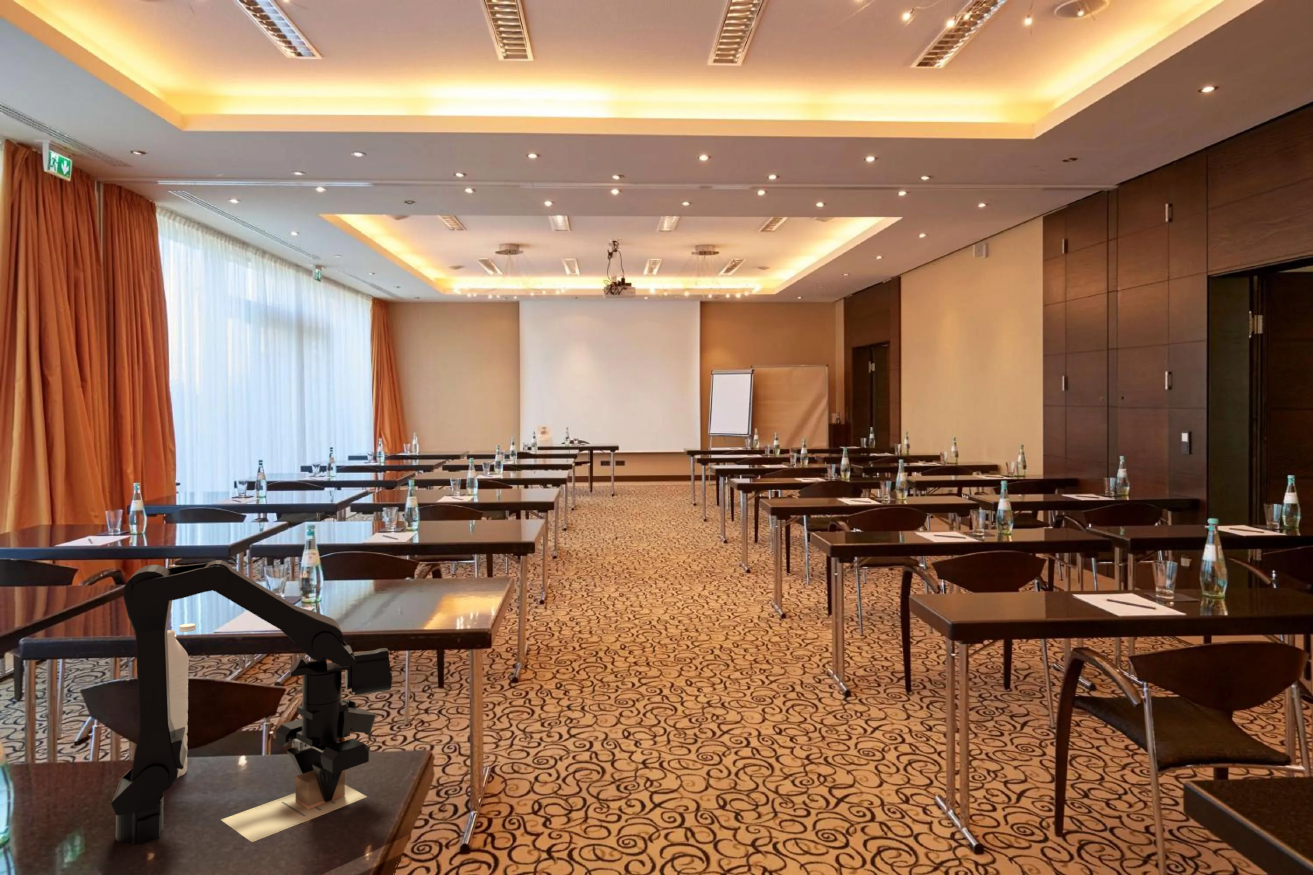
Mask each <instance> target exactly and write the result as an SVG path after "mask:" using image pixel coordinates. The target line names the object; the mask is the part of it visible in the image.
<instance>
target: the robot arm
mask: <svg viewBox="0 0 1313 875" xmlns="http://www.w3.org/2000/svg"><path fill="white" fill-rule="evenodd" d="M212 591H213V592H215V593H217V594H219V595H220V596H222V597H224V598H225V599H228V601H231V602H233V603H234V604H236V605H238V606H239V607H241V608H243V609H245V610H247V611H248V612H250V613H252V614H253V615H255V616H256V617H259V618H260V619H261V620H264V621H265V622H267V623H268V624H270V625H272V626H273V627H275V628H277V629H279V630H280V631H281V632H282V633H283V634H284V635H285V636H286V637H288V639H290V640H291V641H292V643H293V644H294V645H295V646H297V647H298V648H299V649H300V650H301V651H303V653H305V654H306V655H307V656H308V657H309V658H310V659H311V660H307V659H305V657H303V656H299V657H298V659H297V660H296V662H295V663H293V664H292V665H291V666H289V673H290V676H291V677H292V678H293V677H300V676H302V699H301V700H302V703H301V705H299V706H296V714H298V715H300V716H301V718H298V719H296V720H291V721H287V722H284V723H281V724H280V725H279V727H278V728H277V729H276V730H275V744H277V745H279V746H281V747H283V748H284V747H286V746H288V744H290V741H291V748H289V749H288V748H287V750H286V753H287V754H288V756H290V758H291V760H292V762H293V763H294V765H295V768H296V769H297V770H298V772H299V775H301V774H304V773H307V772H310V771H312V770H314V772H315V775H316V778H317V782H318V785H319V788H320V791H321V794H322V797H323V799H324V801H325V802H329V801H331V800H332V798H333V796H334V793H335V790H336V787H337V784H338V781H339V778H340V776H341V773H342V771H344V770H345V771H347V770H350V769H351V768H352V769H353V768H354V767H357V766H361V765H363V764H366V763H369V762H370V760H371V747H370V746H369V745H367V744H366V743H365V742H362V741H361V740H357V739H356V738H354V737H352V738H349V739H346V740H344V741H339V739H341V738H342V739H345V738H348V737H350V736H351V733H359V734H364V735H371V733H372V729H373V728H374V723H375V721H376V717H377V714H376V713H373V712H371V711H369V710H366V709H363V708H360V707H357V705H356V701H355V700H354V701H353V700H351V699H345V698H343V699H342V687H343V685H342V684H343V683H342V681H343V680H342V678H343V675H342V672H343V671H344V680H345V681H344V684H345V690H346V691H348V690H349V691H350V692H351V694H352V695H353V696H359V695H360V696H361V695H368V694H373V693H380V692H388V691H391V690H392V686H393V685H392V682H393V673H392V670H391V662H390V651H389V649H388V648H387V647H382V648H377V649H374V650H367V651H359V652H356V651H355V652H353V650H352V647H351V646H350V645H348V644H347V643H346V641H345V640H344V634H343V632H342V629H341V627H340V624H339V623H338V622H337V621H336V619H333V618H332V617H329V616H327V615H325V614H322V613H319V612H316V611H313V610H310V609H306V608H302V607H299V606H297V605H294V603H292V602H290V601H288V600H286V599H285V598H283V597H281V596H279V595H278V594H276V593H275V592H273V591H271V590H270V589H268V588H267V587H266V586H263V585H262V584H260V583H258V582H257V581H255V580H254V579H252V578H250V577H249V576H246V575H245V574H243V573H241V572H240V571H239V570H237V569H235V568H233V567H232V566H231V565H230V564H229V563H228V562H227V561H225V560H222V559H221V560H220V559H215V560H211V561H210V562H204V563H195V564H187V565H177V566H171V567H166V566H163V565H160V564H149V565H144V566H142V567H141V568H139V569H138V570H136V571H135V572H134V573H133V574H132V575H131V576H130V578H129V579H128V580H127V581H126V583H125V584H124V587H123V590H122V597H123V602H124V606H125V609H126V613H127V617H128V620H129V622H130V624H131V626H132V630H133V632H134V634H135V635H134V636H135V652H136V653H135V654H136V679H137V701H138V702H137V703H138V705H137V706H138V728H139V730H138V736H137V741H136V744H135V745H136V746H135V751H134V755H133V762H132V767H131V768H130V769H129V770H128V771H126V773H124V774H123V776H122V777H121V778H120V780H119V783H118V785H117V787H116V791H115V793H114V796H113V798H112V801H111V807H112V810H113V812H114V813H115V840H116V842H118V843H121V844H133V845H137V846H140V845H143V844H146V843H149V842H152V841H156V840H157V839H159V838H161V832H162V831H163V829H164V793H165V792H167V791H168V790H170V788H171V787H173V785H174V784H175V783H176V781H177V779H178V778H177V776H178V771H179V769H183V767H184V762H185V758H186V753H187V754H188V749H187V750H186V748H185V747H184V734H185V727H183V728H180V729H176V730H175V728H174V726H173V723H172V721H171V714H170V688H169V662H168V636H167V630H168V625H169V621H170V615H171V608H172V603H173V601H175V600H181V599H184V598H188V597H191V596H194V595H199V594H202V593H207V592H212ZM327 661H331V662H327Z"/></svg>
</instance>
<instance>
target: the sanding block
mask: <svg viewBox="0 0 1313 875" xmlns="http://www.w3.org/2000/svg"><path fill="white" fill-rule="evenodd" d="M345 785H346V770H344V771H342V773H341V776H340V778H339V781H338V784H337V787H336V790H335V793H334V796H333V798H332V800H334V799H337V798H339V797H342V796H345ZM295 793H296V802H297V803H299V804H300V805H302V806H304V807H305V808H307V809H311V808H314V807H316V806H319V805H321V804H324V803H326V802H325V801H324V799H323V797H322V794H321V791H320V788H319V785H318V782H317V778H316V775H315V772H314V770H312V771H310V772H307V773H304V774H298V775H296V776H295ZM332 800H331V801H332Z"/></svg>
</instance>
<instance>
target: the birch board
mask: <svg viewBox="0 0 1313 875" xmlns="http://www.w3.org/2000/svg"><path fill="white" fill-rule="evenodd" d="M366 798H368V796H367V795H365V794H363V793H361V792H359V791H357V790H356V789H354V788H352V787H350V786H349V785H346V784H345V796H342V797H339V798H337V799H334V800H332V801H329V802H326V803H324V804H321V805H319V806H316V807H314V808H311V809H307V808H305V807H304V806H302V805H300V804H299V803H297V802H296V792H294V793H291V794H289V795H285V796H284V797H280V798H278V799H275V800H271V801H269V802H266V803H263V804H261V805H258V806H255V807H253V808H249V809H247V810H244V811H241V812H238V813H236V814H233V815H231V816H227V817H225V818H221V819H220V820H221V822H223V823H224V824H226V825H227V826H229V828H231V829H232V830H234V831H235V832H237V834H239V835H241V836H242V837H244V838H245V839H246V840H248V841H249V842H250V843H255V842H256V841H259V840H262V839H264V838H267V837H269V836H273V835H274V834H277V833H280V832H282V831H285V830H287V829H290V828H293V827H295V826H298V825H299V824H302V823H305V822H308V821H311V820H313V819H316V818H318V817H321V816H322V815H326V814H328V813H330V812H333V811H335V810H338V809H340V808H343V807H346V806H348V805H351V804H353V803H356V802H359V801H360V800H363V799H366Z"/></svg>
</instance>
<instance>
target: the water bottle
mask: <svg viewBox="0 0 1313 875" xmlns="http://www.w3.org/2000/svg"><path fill="white" fill-rule="evenodd" d="M178 629H179V630H178V631H179V632H180V633H188V632H194V631H195V630H196V624H195V623H183V624H180V625H179V627H178ZM167 636H168V662H169V688H170V714H171V721H172V723H173V726H174V728H175V730H176V729H180V728H183V727H185V734H184V747H185V748H186V750H187V751H188V738H189V737H188V735H187V734H188V729H189V728H188V727H189V726H188V722H189V720H188V719H189V715H188V711H189V698H188V697H189V685H188V684H189V662H190V660H189V654H188V652H187V650H186V649H185V648H184V647H183V645H182V644H181V643H180V642H179V640H177V638H176V637H178V636H177V635H176V630H174V629H167ZM187 756H188V752H187V753H186V758H185V762H184V767H183V769H179V771H178V776H177V779H179V778H180V777H182V776H183V775H186V772H187V771H188V757H187Z"/></svg>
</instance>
